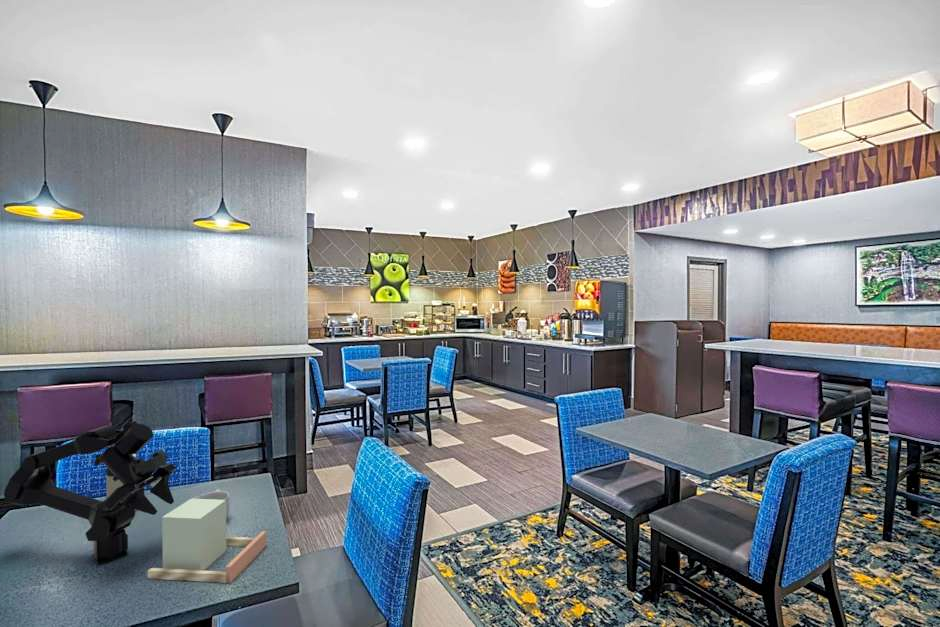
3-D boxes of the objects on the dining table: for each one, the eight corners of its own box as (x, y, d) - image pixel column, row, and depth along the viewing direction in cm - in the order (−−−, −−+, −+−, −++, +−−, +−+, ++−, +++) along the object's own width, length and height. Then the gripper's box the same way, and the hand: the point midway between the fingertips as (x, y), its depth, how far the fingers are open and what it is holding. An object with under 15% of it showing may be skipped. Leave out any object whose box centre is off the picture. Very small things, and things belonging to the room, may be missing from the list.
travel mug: (101, 519, 145) (100, 462, 145) (113, 508, 153) (113, 453, 152) (131, 516, 147) (130, 460, 147) (141, 505, 155) (141, 451, 154)
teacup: (217, 532, 138) (217, 505, 138) (181, 531, 138) (180, 505, 138) (241, 510, 152) (241, 486, 152) (208, 510, 152) (208, 486, 152)
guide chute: (147, 578, 115) (147, 562, 115) (194, 542, 132) (193, 528, 132) (230, 582, 113) (230, 566, 113) (266, 545, 131) (266, 531, 131)
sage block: (162, 571, 118) (162, 517, 118) (191, 548, 129) (191, 498, 129) (200, 573, 117) (200, 518, 117) (226, 550, 128) (226, 499, 128)
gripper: (115, 456, 114) (159, 503, 114) (169, 434, 133) (207, 474, 132) (85, 487, 115) (128, 533, 114) (143, 461, 133) (180, 500, 133)
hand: (164, 508), depth 123 cm, fingers open, 6 cm apart
